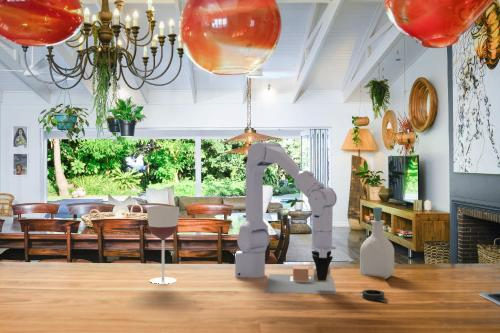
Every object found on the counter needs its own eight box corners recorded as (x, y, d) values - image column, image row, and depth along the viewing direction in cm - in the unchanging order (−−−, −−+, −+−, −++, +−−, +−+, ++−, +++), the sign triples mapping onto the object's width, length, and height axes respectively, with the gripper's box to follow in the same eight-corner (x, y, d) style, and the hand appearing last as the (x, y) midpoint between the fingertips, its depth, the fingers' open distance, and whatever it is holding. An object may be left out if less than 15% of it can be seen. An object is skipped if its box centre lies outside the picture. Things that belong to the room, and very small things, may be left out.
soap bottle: (395, 275, 168) (396, 206, 167) (387, 281, 159) (388, 209, 159) (367, 271, 173) (367, 205, 172) (358, 277, 164) (358, 207, 164)
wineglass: (181, 282, 156) (181, 208, 156) (148, 285, 153) (148, 209, 152) (176, 276, 165) (176, 205, 164) (145, 278, 162) (145, 206, 161)
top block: (313, 281, 142) (313, 269, 142) (313, 277, 146) (313, 265, 146) (330, 282, 141) (330, 269, 141) (329, 278, 146) (329, 266, 146)
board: (264, 296, 142) (264, 291, 142) (269, 277, 163) (269, 273, 163) (336, 298, 140) (336, 293, 140) (331, 279, 161) (331, 275, 161)
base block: (293, 280, 154) (293, 268, 154) (293, 276, 159) (293, 265, 159) (308, 280, 154) (308, 269, 154) (308, 277, 158) (308, 265, 158)
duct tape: (361, 308, 132) (361, 297, 132) (356, 297, 142) (356, 287, 142) (391, 309, 131) (391, 297, 131) (384, 298, 141) (384, 287, 141)
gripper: (338, 234, 136) (337, 285, 136) (334, 227, 150) (334, 272, 151) (311, 234, 137) (311, 284, 137) (310, 226, 151) (310, 271, 151)
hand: (321, 278), depth 144 cm, fingers closed on top block, 5 cm apart
